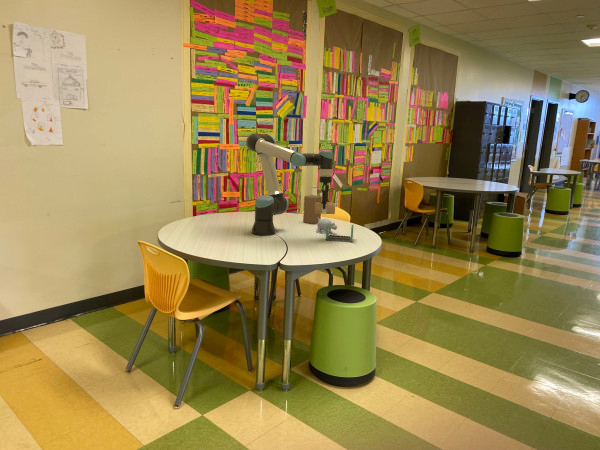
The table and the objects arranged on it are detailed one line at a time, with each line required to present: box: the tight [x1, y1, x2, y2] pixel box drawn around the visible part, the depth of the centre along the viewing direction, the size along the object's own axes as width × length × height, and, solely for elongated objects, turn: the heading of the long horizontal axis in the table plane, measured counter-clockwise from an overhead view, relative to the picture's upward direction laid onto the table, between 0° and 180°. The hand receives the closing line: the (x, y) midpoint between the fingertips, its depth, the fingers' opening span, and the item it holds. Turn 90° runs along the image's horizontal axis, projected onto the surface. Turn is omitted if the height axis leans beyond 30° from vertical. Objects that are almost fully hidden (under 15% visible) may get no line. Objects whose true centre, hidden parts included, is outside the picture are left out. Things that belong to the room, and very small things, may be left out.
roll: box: [315, 202, 336, 215], centre depth 265 cm, size 12×7×7 cm, turn 81°
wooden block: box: [302, 194, 322, 225], centre depth 318 cm, size 10×10×20 cm
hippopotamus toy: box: [315, 217, 338, 235], centre depth 287 cm, size 11×15×10 cm
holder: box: [325, 223, 355, 243], centre depth 267 cm, size 16×10×9 cm, turn 82°
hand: (324, 213), depth 265 cm, fingers closed on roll, 7 cm apart
